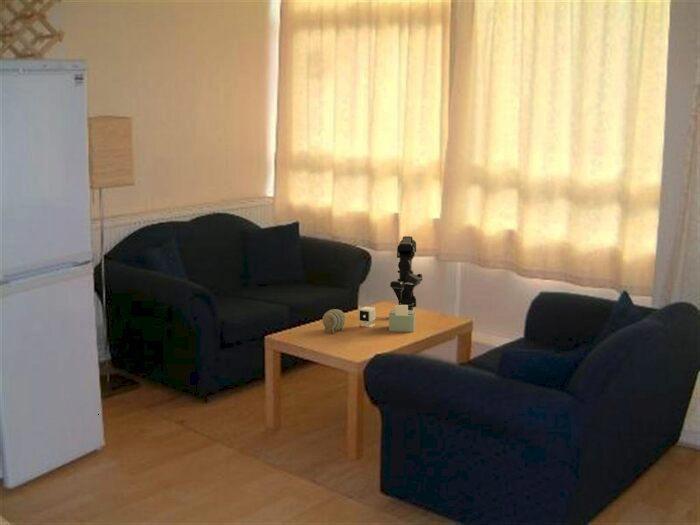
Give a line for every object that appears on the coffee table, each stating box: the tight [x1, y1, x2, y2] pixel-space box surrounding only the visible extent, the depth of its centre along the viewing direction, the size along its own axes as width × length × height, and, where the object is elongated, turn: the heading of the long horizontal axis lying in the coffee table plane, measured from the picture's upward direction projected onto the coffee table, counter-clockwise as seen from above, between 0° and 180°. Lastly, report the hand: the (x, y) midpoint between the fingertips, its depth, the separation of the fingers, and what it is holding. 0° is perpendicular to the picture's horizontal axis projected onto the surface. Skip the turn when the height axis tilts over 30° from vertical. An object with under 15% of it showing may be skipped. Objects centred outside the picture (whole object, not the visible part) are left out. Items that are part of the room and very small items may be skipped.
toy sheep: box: [322, 308, 346, 335], centre depth 406 cm, size 11×17×11 cm, turn 153°
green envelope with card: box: [388, 304, 415, 333], centre depth 401 cm, size 1×12×13 cm, turn 81°
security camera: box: [358, 306, 376, 328], centre depth 412 cm, size 6×7×10 cm
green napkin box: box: [388, 309, 416, 330], centre depth 406 cm, size 8×12×10 cm, turn 81°
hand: (404, 299), depth 410 cm, fingers open, 9 cm apart
